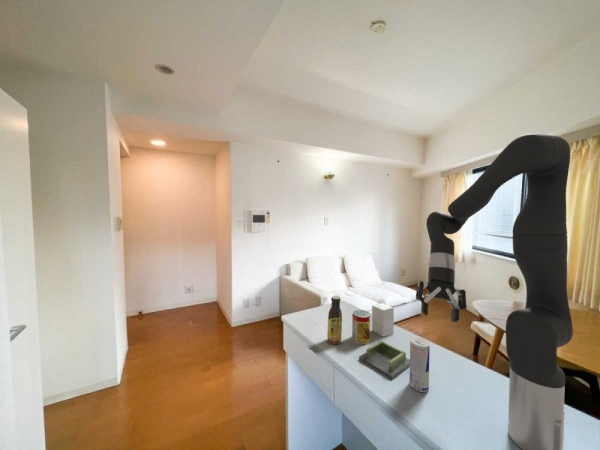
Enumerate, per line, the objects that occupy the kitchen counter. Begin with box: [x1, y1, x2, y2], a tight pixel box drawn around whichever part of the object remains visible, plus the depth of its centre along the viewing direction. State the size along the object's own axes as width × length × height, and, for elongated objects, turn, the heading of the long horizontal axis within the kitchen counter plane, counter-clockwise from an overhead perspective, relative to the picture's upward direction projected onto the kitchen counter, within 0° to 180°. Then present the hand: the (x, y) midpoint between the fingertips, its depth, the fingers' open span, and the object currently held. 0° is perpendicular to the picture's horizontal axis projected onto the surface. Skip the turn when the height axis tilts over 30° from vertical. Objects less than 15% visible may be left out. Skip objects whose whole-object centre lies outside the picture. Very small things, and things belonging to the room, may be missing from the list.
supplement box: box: [371, 302, 395, 338], centre depth 111 cm, size 7×7×13 cm
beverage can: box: [409, 337, 431, 393], centre depth 74 cm, size 6×6×15 cm
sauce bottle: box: [326, 295, 343, 345], centre depth 102 cm, size 6×6×20 cm
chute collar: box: [358, 340, 410, 380], centre depth 87 cm, size 14×14×4 cm
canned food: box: [351, 309, 371, 345], centre depth 104 cm, size 8×8×12 cm
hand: (439, 318), depth 73 cm, fingers open, 8 cm apart
